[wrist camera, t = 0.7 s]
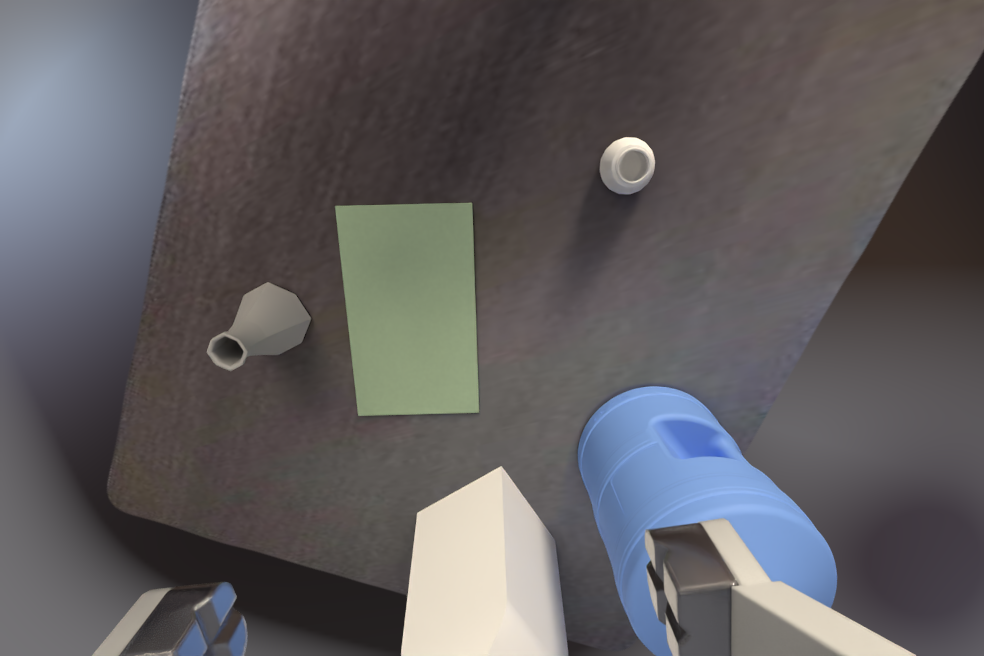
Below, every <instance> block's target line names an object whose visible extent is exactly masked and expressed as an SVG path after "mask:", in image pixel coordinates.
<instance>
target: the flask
mask: <svg viewBox="0 0 984 656" xmlns="http://www.w3.org/2000/svg"><path fill="white" fill-rule="evenodd" d="M310 321H311V317H310V316H309V314H308V313H307V311H306V310H305V308H304V307H303V305H302V304H301V302H300V300H299V299H298V297H297V296H296V294H294V293H291V292H289V291H287V290H285V289H282V288H280V287H278V286H276V285H273V284H271V283H269V282H267V283H265V284H263V285H262V286H260V287H258V288H256V289H254V290H252V291H251V292H249V293H247V294H245V295H244V296H243V299H242V301H241V304H240V307H239V310H238V313H237V316H236V318H235V321H234V323H233V326H232V327H231V328H230V329H229V331H228V332H227V331H226V332H223V333H222V334H220V335H218V336H216V337H214V338H212V339H211V341H210V344H209V347H208V350H207V354H208V355H209V356H210V358H211V359H212V360H213V362H214V363H215V365H217V366H219V367H222V368H224V369H227V370H229V371H232V370H233V369H235V368H237V367H239V366H241V365H243V364H244V363H245V361H246V358H247V357H248V356H252V355H279V354H281V353H283V352H285V351H287V350H289V349H291V348H293V347H295V346H297V345H299V344H300V343H302V341H303V339H304V336H305V334H306V331H307V328H308V326H309V323H310Z"/></svg>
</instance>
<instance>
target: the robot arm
mask: <svg viewBox="0 0 984 656" xmlns="http://www.w3.org/2000/svg"><path fill="white" fill-rule="evenodd" d="M645 548H646V550H647V553H648V555H649V557H650V561H649V563H648V564H647V566H646V569H647V580H648V586H649V591H650V596H651V600H652V603H653V606H654V609H655V612H656V615H657V617H658V620H659V621H660V622H662V623H663V624H664V625H666V632H667V643H668V645H669V648H670V650H671V653H672V655H673V656H916V655H914V654H913V653H911V652H909V651H907V650H905V649H903V648H902V647H900V646H898V645H896V644H894V643H893V642H891V641H889V640H887V639H885V638H883V637H881V636H880V635H878V634H876V633H874V632H872V631H871V630H869V629H867V628H865V627H863V626H862V625H860V624H858V623H856V622H854V621H852V620H851V619H849V618H847V617H845V616H843V615H842V614H840V613H838V612H836V611H834V610H833V609H831V608H829V607H827V606H825V605H823V604H822V603H820V602H818V601H816V600H814V599H813V598H811V597H809V596H807V595H805V594H803V593H802V592H800V591H798V590H796V589H794V588H793V587H791V586H789V585H787V584H785V583H783V582H782V581H774V582H772V581H771V580H770V578H769V577H768V575H767V574H766V573H765V571H764V570H763V568H762V567H761V566H760V564H759V563H758V561H757V560H756V559H755V557H754V556H753V554H752V553H751V552H750V550H749V549H748V547H747V546H746V545H745V543H744V542H743V540H742V539H741V538H740V536H739V535H738V533H737V532H736V531H735V529H734V528H733V527H732V525H731V524H730V522H729V521H728V520H726V519H724V518H720V519H713V520H707V521H700V522H697V523H690V524H682V525H675V526H667V527H659V528H652V529H646V530H645ZM236 598H237V597H236V594H235V592H234V590H233V587H232V585H231V584H230V583H226V582H217V583H207V584H198V585H187V586H177V587H173V588H162V589H152V590H150V591H148V592H146V593H144V594H143V595H141V597H140V598H139V599H138V600H137V602H136V603H135V604H134V605H133V606H132V608H131V609H130V610H129V611H128V612H127V614H126V615H125V616H124V617H123V619H122V620H121V621H120V622H119V624H118V625H117V626H116V627H115V628H114V630H113V631H112V632H111V633H110V635H109V636H108V637H107V638H106V639H105V641H104V642H103V643H102V644H101V646H100V647H99V648H98V649H97V650H96V651H95V653H94V654H93V655H92V656H244V654H245V649H246V644H247V639H248V637H247V626H246V622H245V620H244V616H243V615H242V614H240V613H239V612H238V611H236V610H235V609H234V608H233V605H234V602H235V600H236Z"/></svg>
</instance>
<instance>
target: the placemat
mask: <svg viewBox="0 0 984 656" xmlns="http://www.w3.org/2000/svg"><path fill="white" fill-rule="evenodd" d="M335 211H336V220H337V229H338V238H339V247H340V256H341V265H342V274H343V283H344V292H345V301H346V310H347V319H348V328H349V337H350V346H351V355H352V364H353V373H354V382H355V391H356V400H357V409H358V416H369V415H407V414H446V413H479V396H478V365H477V334H476V304H475V273H474V242H473V211H472V203H441V204H398V205H355V206H335Z"/></svg>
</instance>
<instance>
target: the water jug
mask: <svg viewBox="0 0 984 656" xmlns="http://www.w3.org/2000/svg"><path fill="white" fill-rule="evenodd" d="M578 465H579V469H580V473H581V476H582V479H583V482H584V485H585V487H586V489H587V491H588V493H589V497H590V500H591V503H592V506H593V512H594V517H595V520H596V524H597V527H598V530H599V533H600V535H601V537H602V539H603V541H604V543H605V546H606V550H607V553H608V556H609V559H610V562H611V565H612V568H613V573H614V578H615V583H616V587H617V590H618V593H619V596H620V599H621V602H622V605H623V607H624V609H625V612H626V614H627V616H628V618H629V621H630V623H631V626H632V628H633V630H634V632H635V633H636V635H637V636H638V638H639V639H640V641H641V642H642V643H643V644H644V645H645V646H646V647H647V648H648V649H649V650H650V651H651V652H652V653H653V654H655V655H656V656H673V655H672V653H671V650H670V648H669V645H668V643H667V632H666V625H664V624H663V623H662V622H660V621H659V620H658V617H657V615H656V612H655V609H654V606H653V603H652V600H651V596H650V591H649V586H648V580H647V569H646V566H647V564H648V563H649V561H650V557H649V555H648V553H647V550H646V548H645V530H646V529H652V528H659V527H667V526H675V525H682V524H690V523H697V522H700V521H707V520H713V519H720V518H724V519H726V520H728V521H729V522H730V524H731V525H732V527H733V528H734V529H735V531H736V532H737V533H738V535H739V536H740V538H741V539H742V540H743V542H744V543H745V545H746V546H747V547H748V549H749V550H750V552H751V553H752V554H753V556H754V557H755V559H756V560H757V561H758V563H759V564H760V566H761V567H762V568H763V570H764V571H765V573H766V574H767V575H768V577H769V578H770V580H771V581H772V582H774V581H782V582H783V583H785V584H787V585H789V586H791V587H793V588H794V589H796V590H798V591H800V592H802V593H803V594H805V595H807V596H809V597H811V598H813V599H814V600H816V601H818V602H820V603H822V604H823V605H825V606H827V607H829V608H831V606H832V604H833V600H834V597H835V593H836V586H837V571H836V565H835V561H834V557H833V555H832V552H831V550H830V548H829V546H828V544H827V542H826V541H825V539H824V538H823V536H822V535H821V534H820V533H819V532H818V531H817V529H816V528H815V526H814V525H813V523H812V522H811V521H810V519H809V518H808V517H807V516H806V515H805V513H804V512H803V511H802V510H801V509H800V508H799V507H798V506H797V505H796V504H795V502H794V501H793V500H792V499H790V498H789V497H788V496H787V495H786V494H785V493H784V492H782V491H781V490H780V489H779V488H778V487H777V486H776V485H775V484H774V483H773V482H772V480H771V479H770V478H769V477H767V476H766V475H765V474H764V473H762V472H761V471H760V470H758V469H756V468H755V467H753V466H751V465H750V464H749V463H748V462H747V460H746V459H745V458H744V457H743V456H742V454H741V451H740V449H739V447H738V445H737V444H736V442H735V441H734V439H733V438H732V437H731V436H730V435H729V434H728V433H727V432H726V431H725V429H724V428H723V427H722V426H721V425H720V424H719V423H718V421H717V419H716V418H715V417H714V416H713V414H712V413H711V412H710V411H709V410H708V409H707V408H706V407H705V406H704V405H703V404H702V403H701V402H700V401H698V400H697V399H696V398H694V397H693V396H691V395H689V394H687V393H685V392H682V391H680V390H676V389H673V388H668V387H658V386H652V387H642V388H637V389H633V390H630V391H627V392H624V393H622V394H620V395H618V396H616V397H614V398H612V399H611V400H609V401H608V402H606V403H605V404H604V405H603V406H601V407H600V408H599V409H598V410H597V411H596V412H595V413H594V414H593V416H592V417H591V418H590V420H589V421H588V423H587V424H586V426H585V428H584V430H583V432H582V435H581V438H580V442H579V447H578Z"/></svg>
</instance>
